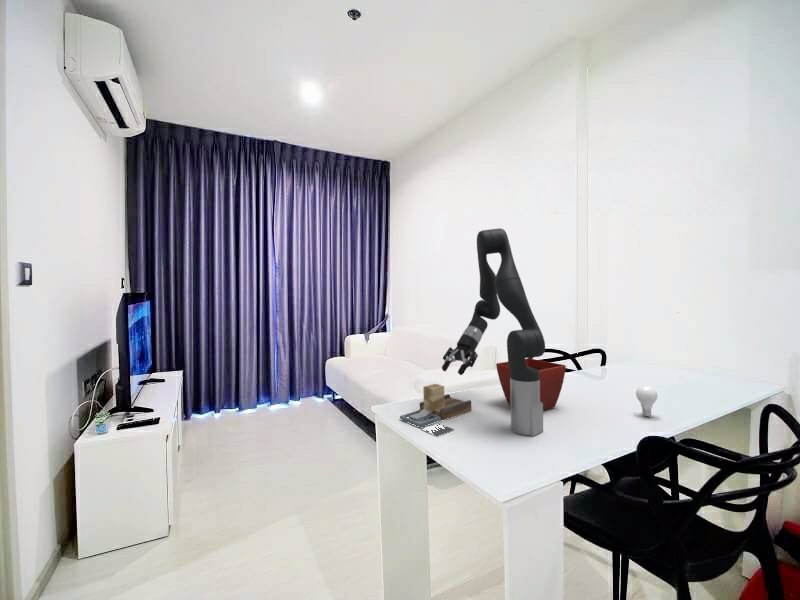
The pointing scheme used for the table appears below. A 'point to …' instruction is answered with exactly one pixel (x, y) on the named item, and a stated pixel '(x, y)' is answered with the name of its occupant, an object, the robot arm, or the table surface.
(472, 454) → the table surface
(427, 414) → the chip
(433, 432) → the mat
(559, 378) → the plant pot
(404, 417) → the tray
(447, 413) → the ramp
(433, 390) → the tall wooden block
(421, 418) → the chip
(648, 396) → the lightbulb
